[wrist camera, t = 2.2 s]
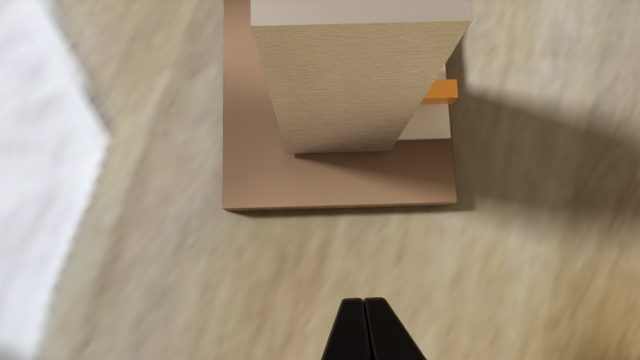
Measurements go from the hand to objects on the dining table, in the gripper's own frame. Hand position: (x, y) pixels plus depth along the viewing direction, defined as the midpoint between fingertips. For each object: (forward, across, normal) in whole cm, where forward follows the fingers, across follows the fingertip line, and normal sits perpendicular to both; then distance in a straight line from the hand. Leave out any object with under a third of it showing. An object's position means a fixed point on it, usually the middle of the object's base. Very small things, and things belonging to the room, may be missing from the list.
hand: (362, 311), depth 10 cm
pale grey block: (+11, -1, 0) cm, 11 cm away
